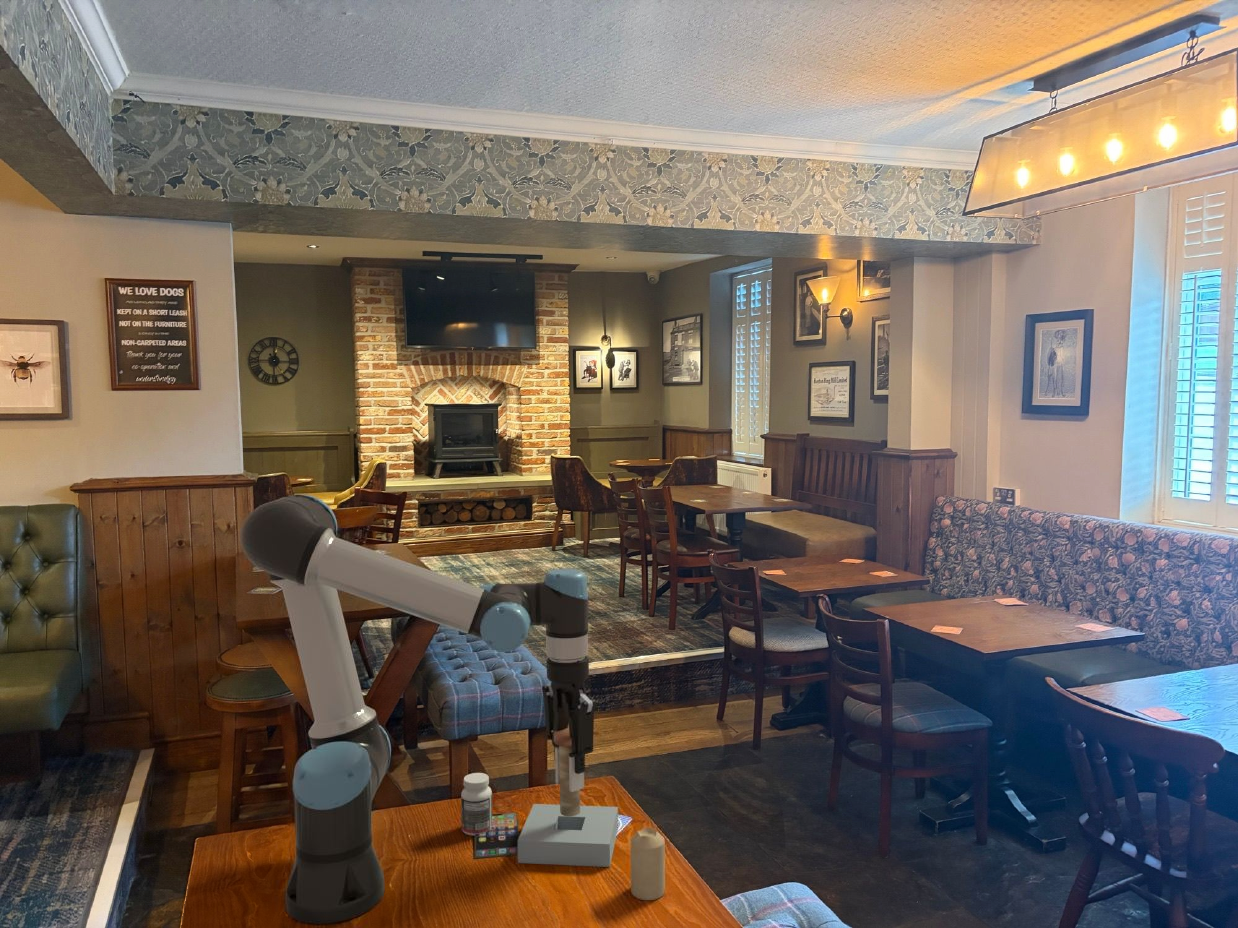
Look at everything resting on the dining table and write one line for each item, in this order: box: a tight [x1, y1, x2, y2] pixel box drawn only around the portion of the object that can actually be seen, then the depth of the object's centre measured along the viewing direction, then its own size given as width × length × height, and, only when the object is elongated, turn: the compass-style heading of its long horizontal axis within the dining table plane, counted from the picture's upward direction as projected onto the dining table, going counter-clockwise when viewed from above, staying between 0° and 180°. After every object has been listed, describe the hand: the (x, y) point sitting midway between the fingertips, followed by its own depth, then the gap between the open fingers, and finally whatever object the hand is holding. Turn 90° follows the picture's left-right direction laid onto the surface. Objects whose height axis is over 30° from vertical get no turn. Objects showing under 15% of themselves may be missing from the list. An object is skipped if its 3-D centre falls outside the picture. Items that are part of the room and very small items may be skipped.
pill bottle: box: [460, 772, 493, 837], centre depth 161 cm, size 6×6×10 cm
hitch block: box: [517, 803, 619, 868], centre depth 155 cm, size 16×14×4 cm
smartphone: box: [474, 812, 520, 860], centre depth 159 cm, size 8×15×1 cm, turn 9°
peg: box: [554, 726, 581, 816], centre depth 154 cm, size 5×5×14 cm
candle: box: [630, 827, 666, 901], centre depth 140 cm, size 6×6×10 cm
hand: (569, 784), depth 155 cm, fingers closed on peg, 3 cm apart
